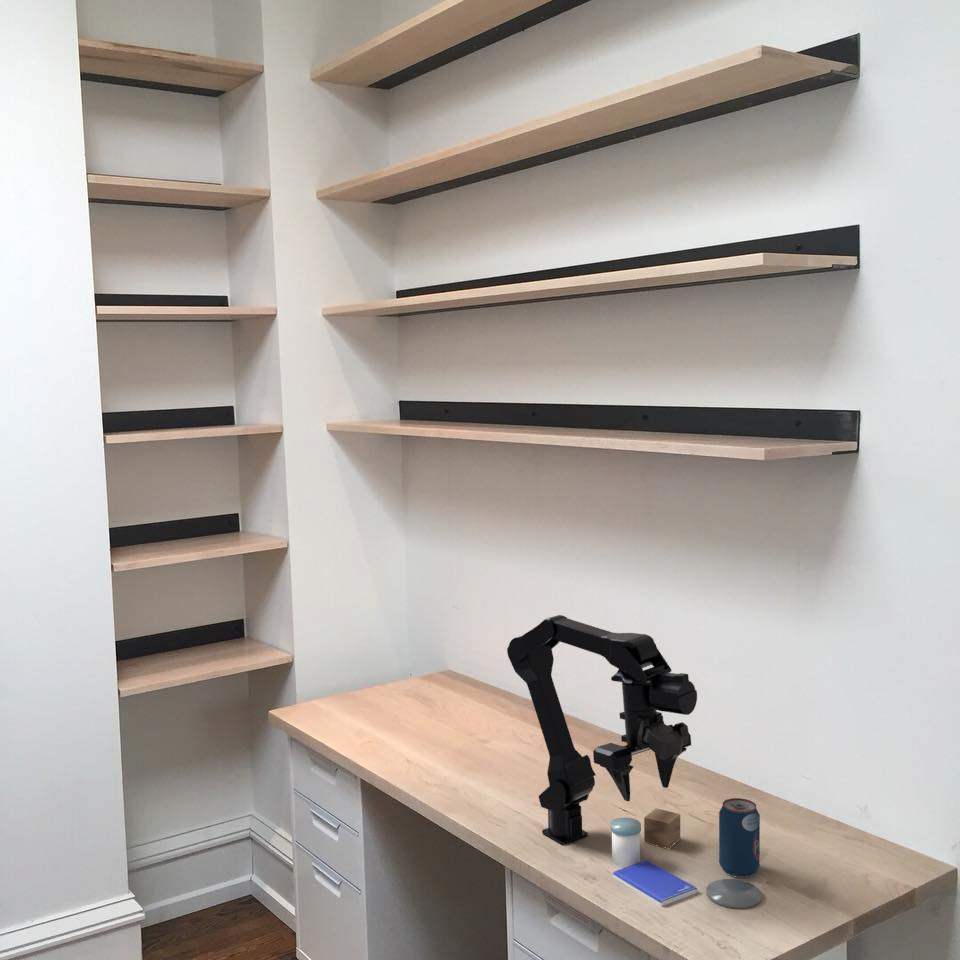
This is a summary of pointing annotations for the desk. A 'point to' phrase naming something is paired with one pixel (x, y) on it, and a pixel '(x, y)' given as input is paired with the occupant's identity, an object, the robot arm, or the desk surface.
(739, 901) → the coaster
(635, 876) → the hard drive
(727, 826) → the soda can
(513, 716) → the desk surface
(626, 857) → the white jar
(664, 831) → the walnut block
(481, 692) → the desk surface
